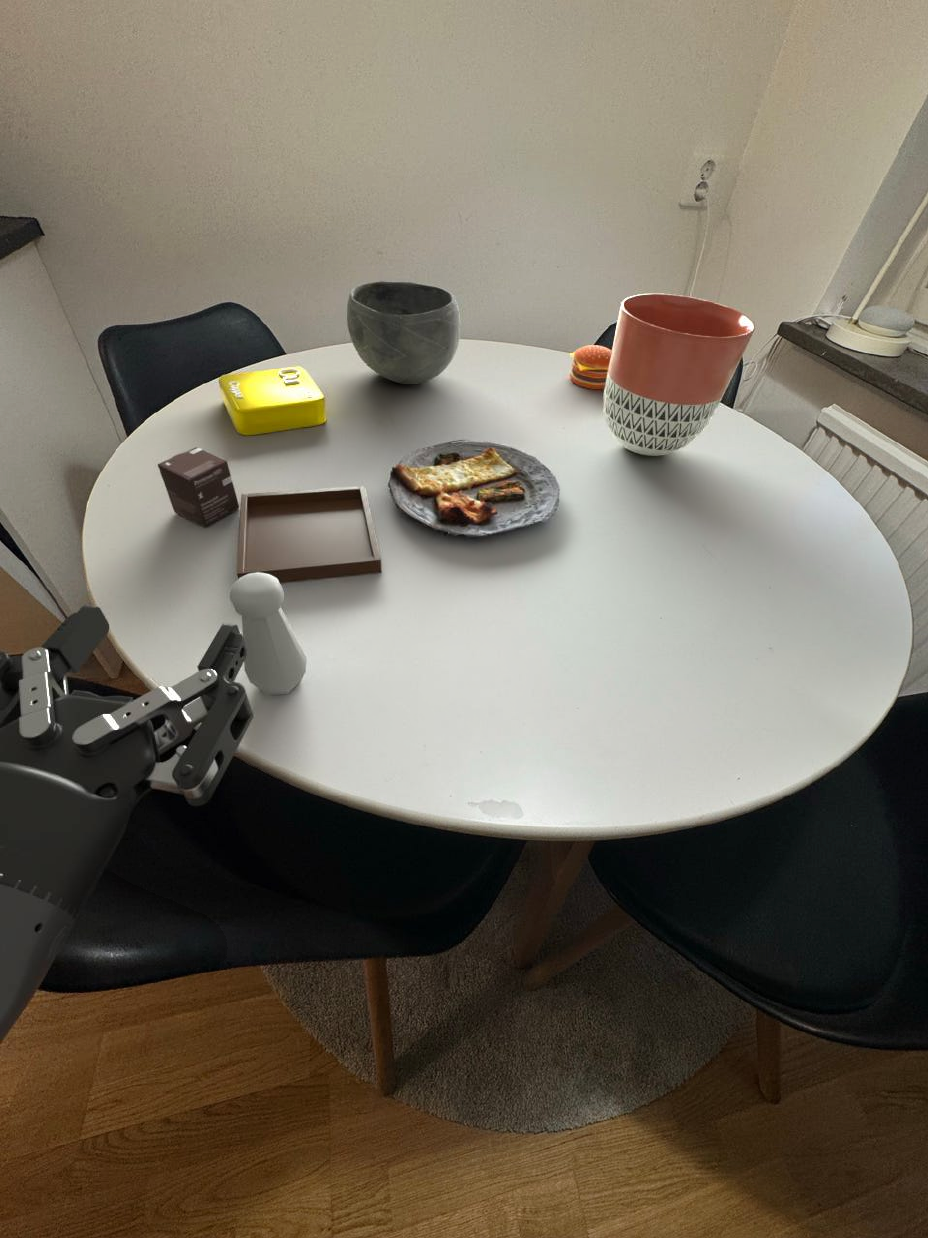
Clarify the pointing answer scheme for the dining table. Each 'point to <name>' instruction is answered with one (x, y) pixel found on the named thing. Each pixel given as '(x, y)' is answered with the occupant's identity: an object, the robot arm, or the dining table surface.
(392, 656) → the dining table surface
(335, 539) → the tray
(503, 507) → the food plate
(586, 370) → the hamburger
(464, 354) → the dining table surface
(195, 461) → the box
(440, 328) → the bowl
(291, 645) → the salt shaker
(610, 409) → the planter
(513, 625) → the dining table surface
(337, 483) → the dining table surface
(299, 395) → the element tile
